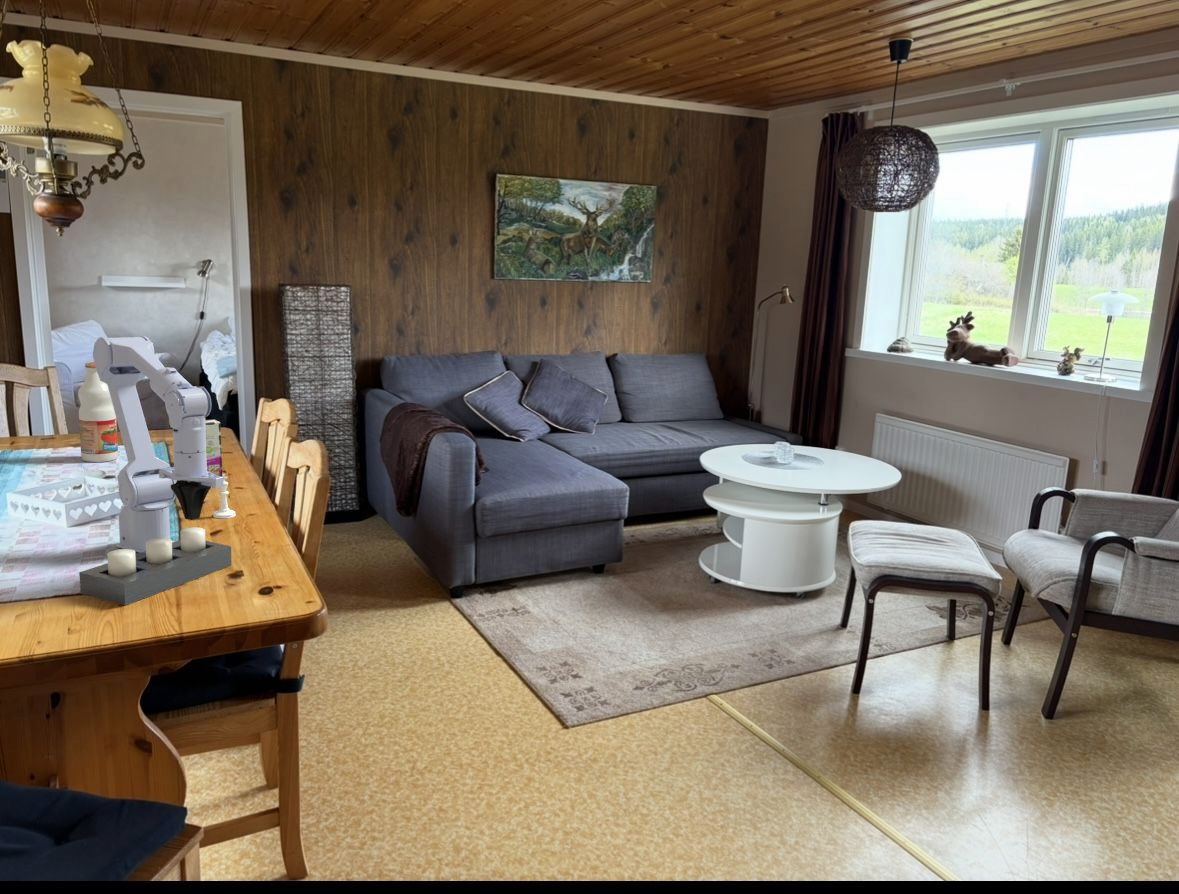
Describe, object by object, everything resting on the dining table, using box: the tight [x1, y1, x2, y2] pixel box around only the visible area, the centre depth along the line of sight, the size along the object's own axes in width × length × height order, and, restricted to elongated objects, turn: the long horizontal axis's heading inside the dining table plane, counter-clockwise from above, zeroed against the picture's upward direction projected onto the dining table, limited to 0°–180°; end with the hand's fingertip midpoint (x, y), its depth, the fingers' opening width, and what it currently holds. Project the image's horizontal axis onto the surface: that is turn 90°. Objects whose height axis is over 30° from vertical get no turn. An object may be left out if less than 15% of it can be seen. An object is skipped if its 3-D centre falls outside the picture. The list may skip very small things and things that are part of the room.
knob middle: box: [146, 538, 173, 565], centre depth 162 cm, size 4×4×4 cm
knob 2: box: [180, 527, 206, 553], centre depth 170 cm, size 4×4×4 cm
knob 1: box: [107, 548, 136, 578], centre depth 155 cm, size 4×4×4 cm
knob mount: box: [78, 539, 232, 606], centre depth 163 cm, size 11×24×4 cm, turn 158°
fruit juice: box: [77, 361, 119, 463], centre depth 248 cm, size 9×9×28 cm
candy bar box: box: [205, 419, 223, 477], centre depth 232 cm, size 11×5×16 cm, turn 129°
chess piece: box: [213, 473, 237, 520], centre depth 204 cm, size 5×5×10 cm
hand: (192, 518), depth 169 cm, fingers closed
